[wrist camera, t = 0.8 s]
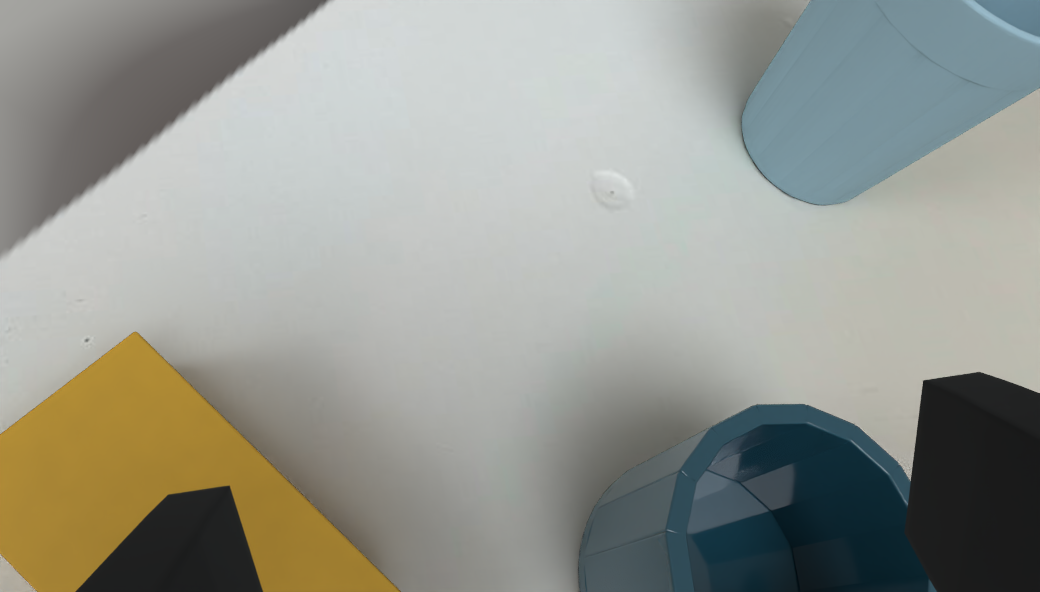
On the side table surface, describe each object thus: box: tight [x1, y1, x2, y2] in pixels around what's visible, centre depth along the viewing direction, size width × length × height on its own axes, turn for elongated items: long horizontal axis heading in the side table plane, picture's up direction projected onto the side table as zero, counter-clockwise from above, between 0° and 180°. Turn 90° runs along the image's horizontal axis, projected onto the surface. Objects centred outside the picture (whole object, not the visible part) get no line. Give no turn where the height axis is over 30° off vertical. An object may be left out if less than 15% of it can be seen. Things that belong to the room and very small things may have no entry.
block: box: [0, 332, 401, 592], centre depth 20 cm, size 9×5×3 cm, turn 49°
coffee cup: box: [578, 404, 937, 592], centre depth 21 cm, size 7×7×6 cm
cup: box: [742, 0, 1040, 205], centre depth 27 cm, size 8×8×10 cm
